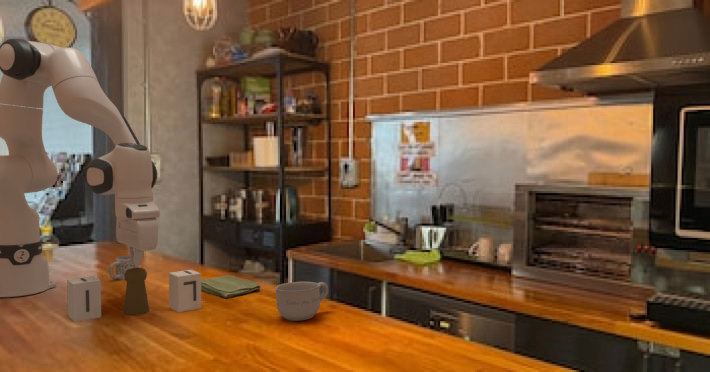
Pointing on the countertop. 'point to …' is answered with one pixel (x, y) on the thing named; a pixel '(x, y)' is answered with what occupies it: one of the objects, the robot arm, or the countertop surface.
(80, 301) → the grey marked block
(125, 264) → the mug
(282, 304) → the teacup
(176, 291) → the cream marked block
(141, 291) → the dark brown tapered piece
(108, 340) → the countertop surface
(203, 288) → the washcloth
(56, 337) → the countertop surface
